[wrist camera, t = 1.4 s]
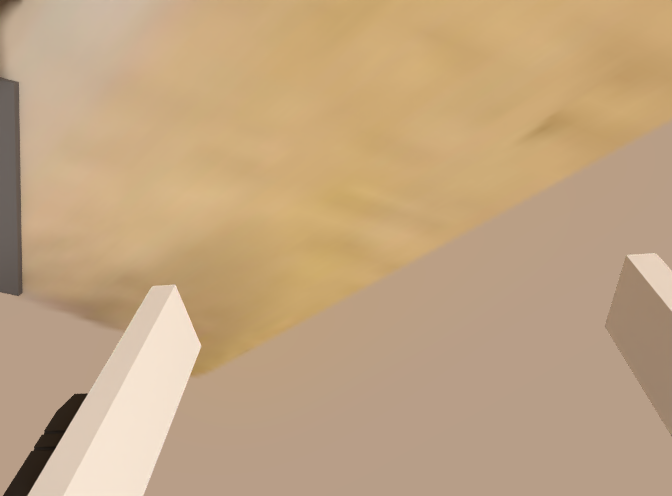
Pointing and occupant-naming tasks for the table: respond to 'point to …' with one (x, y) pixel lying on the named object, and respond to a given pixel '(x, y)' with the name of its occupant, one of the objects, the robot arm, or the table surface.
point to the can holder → (10, 190)
